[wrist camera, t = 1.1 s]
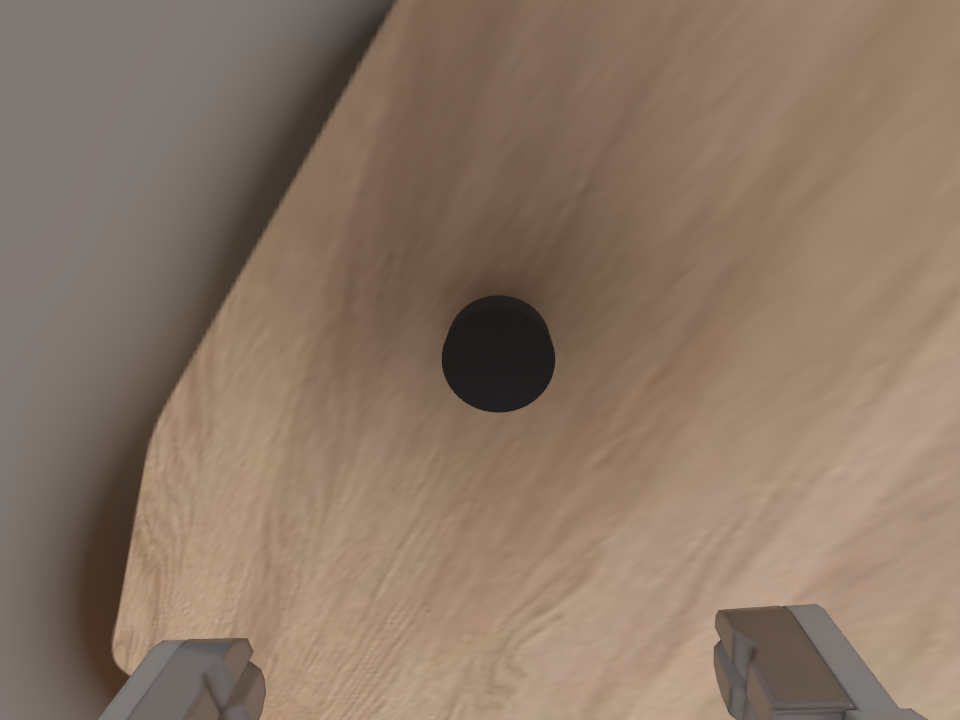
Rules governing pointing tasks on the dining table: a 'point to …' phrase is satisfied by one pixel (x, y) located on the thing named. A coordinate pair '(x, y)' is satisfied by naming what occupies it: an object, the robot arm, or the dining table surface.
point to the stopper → (498, 354)
